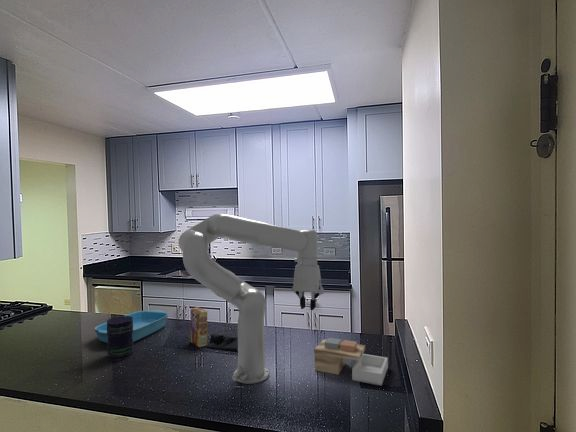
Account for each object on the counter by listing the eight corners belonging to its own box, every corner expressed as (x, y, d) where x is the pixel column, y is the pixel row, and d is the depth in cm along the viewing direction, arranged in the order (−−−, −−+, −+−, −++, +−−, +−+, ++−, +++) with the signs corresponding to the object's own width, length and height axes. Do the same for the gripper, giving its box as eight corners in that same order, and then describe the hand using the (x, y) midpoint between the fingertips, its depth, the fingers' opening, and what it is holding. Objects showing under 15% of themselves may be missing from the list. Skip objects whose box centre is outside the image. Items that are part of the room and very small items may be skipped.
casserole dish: (141, 320, 190) (141, 307, 190) (176, 324, 183) (176, 310, 183) (83, 345, 154) (83, 330, 154) (124, 351, 148) (124, 334, 148)
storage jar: (123, 361, 137) (122, 324, 137) (101, 359, 139) (100, 322, 139) (138, 351, 147) (138, 316, 147) (118, 349, 149) (117, 315, 149)
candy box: (208, 345, 153) (207, 311, 153) (199, 347, 150) (198, 312, 150) (199, 339, 160) (199, 306, 160) (190, 342, 157) (190, 308, 157)
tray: (381, 385, 116) (381, 374, 116) (352, 380, 120) (352, 368, 120) (387, 368, 129) (387, 357, 129) (361, 363, 133) (360, 353, 133)
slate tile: (337, 349, 127) (337, 344, 127) (324, 347, 129) (324, 342, 129) (341, 344, 131) (341, 339, 131) (328, 342, 134) (328, 337, 133)
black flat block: (246, 356, 142) (246, 345, 142) (203, 348, 151) (203, 337, 151) (264, 343, 156) (264, 332, 156) (223, 336, 165) (223, 326, 165)
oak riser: (358, 379, 121) (358, 356, 121) (314, 370, 128) (314, 349, 127) (365, 366, 131) (365, 345, 131) (323, 358, 138) (323, 339, 137)
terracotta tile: (353, 352, 124) (353, 346, 124) (340, 350, 126) (340, 344, 126) (356, 347, 129) (356, 341, 129) (343, 345, 131) (343, 339, 131)
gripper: (284, 261, 134) (284, 309, 134) (324, 264, 127) (325, 313, 127) (291, 259, 141) (292, 304, 141) (330, 261, 134) (331, 308, 134)
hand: (307, 308), depth 134 cm, fingers open, 3 cm apart
